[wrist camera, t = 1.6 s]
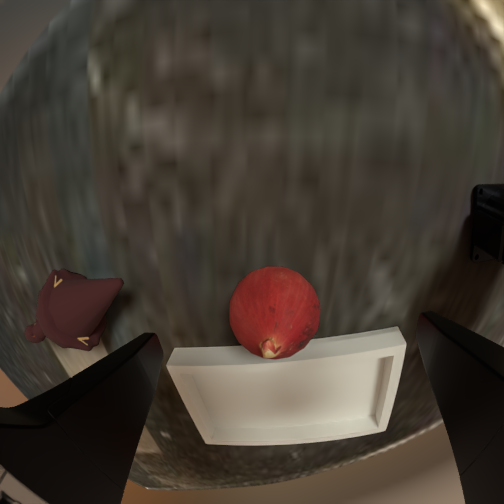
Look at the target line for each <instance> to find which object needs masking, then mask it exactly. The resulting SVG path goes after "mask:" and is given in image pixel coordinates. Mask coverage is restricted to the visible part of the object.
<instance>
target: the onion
mask: <svg viewBox="0 0 504 504" xmlns="http://www.w3.org/2000/svg"><path fill="white" fill-rule="evenodd" d="M319 318H320V302H319V300H318V297H317V295H316V293H315V290H314V288H313V287H312V286H311V284H310V283H309V282H308V281H307V280H306V279H305V278H304V277H302V276H301V275H300V274H299V273H298V272H295V271H293V270H290V269H288V268H285V267H264V268H261V269H258V270H255V271H252V272H250V273H249V274H248V275H247V276H246V277H244V278H243V279H242V280H241V281H240V282H239V283H238V285H237V287H236V289H235V291H234V293H233V295H232V297H231V300H230V303H229V323H230V326H231V329H232V330H233V332H234V334H235V336H236V338H237V340H238V342H239V343H240V344H241V345H242V346H243V347H245V348H246V349H247V350H248V351H249V352H250V353H252V354H254V355H257V356H259V357H261V358H265V359H274V360H276V359H282V358H288V357H291V356H292V355H294V354H296V353H297V352H299V351H300V350H302V349H304V348H305V347H306V346H307V344H308V343H309V341H310V340H311V339H312V337H313V336H314V334H315V333H316V331H317V329H318V327H319Z"/></svg>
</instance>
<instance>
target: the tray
mask: <svg viewBox="0 0 504 504" xmlns="http://www.w3.org/2000/svg"><path fill="white" fill-rule="evenodd" d="M405 350H406V342H405V340H404V338H403V336H402V334H401V332H400V330H399V328H398V326H397V327H391V328H386V329H380V330H374V331H368V332H362V333H356V334H349V335H342V336H335V337H327V338H319V339H311V340H310V341H309V343H308V344H307V346H306V347H305V348H304V349H302V350H300V351H299V352H297V353H296V354H294V355H292V356H291V357H288V358H282V359H276V360H274V359H265V358H261V357H259V356H257V355H254V354H252V353H250V352H249V351H248V350H247V349H246V348H245V347H243V346H224V347H193V348H174V350H173V352H172V354H171V356H170V358H169V360H168V362H167V364H166V366H167V369H168V371H169V373H170V375H171V377H172V379H173V382H174V384H175V386H176V388H177V390H178V392H179V394H180V396H181V398H182V400H183V402H184V404H185V406H186V408H187V410H188V412H189V414H190V416H191V418H192V419H193V421H194V423H195V425H196V427H197V429H198V430H199V432H200V434H201V436H202V438H203V439H204V441H205V443H206V444H217V445H284V444H300V443H311V442H321V441H329V440H337V439H344V438H350V437H356V436H362V435H368V434H373V433H378V432H382V431H386V428H387V425H388V421H389V418H390V414H391V411H392V407H393V403H394V400H395V396H396V392H397V388H398V384H399V379H400V375H401V370H402V365H403V360H404V355H405Z"/></svg>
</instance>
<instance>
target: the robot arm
mask: <svg viewBox="0 0 504 504" xmlns="http://www.w3.org/2000/svg"><path fill="white" fill-rule="evenodd" d="M479 190H481V191H480V193H479ZM475 255H476V257H475ZM470 259H471V260H472V261H473V262H475V263H476V262H481V261H486V260H491V259H496V260H497V261H498V262H501V263H502V264H504V184H478V185H476V186H475V188H474V215H473V232H472V244H471V253H470ZM416 340H417V343H418V346H419V350H420V353H421V356H422V360H423V364H424V367H425V371H426V374H427V377H428V380H429V382H430V385H431V387H432V390H433V393H434V395H435V398H436V401H437V404H438V406H439V409H440V412H441V415H442V418H443V421H444V424H445V427H446V430H447V433H448V436H449V440H450V443H451V446H452V450H453V453H454V457H455V461H456V464H457V467H458V472H459V475H460V481H461V485H462V490H463V494H464V499H465V504H504V347H502V346H500V345H498V344H496V343H494V342H493V341H491V340H489V339H487V338H485V337H483V336H481V335H479V334H477V333H475V332H473V331H471V330H469V329H467V328H465V327H463V326H461V325H459V324H457V323H455V322H453V321H451V320H449V319H447V318H445V317H443V316H441V315H439V314H437V313H435V312H433V311H427V312H422V313H421V314H420V316H419V320H418V325H417V330H416ZM162 361H163V350H162V347H161V344H160V342H159V339H158V336H157V335H156V334H155V333H143V334H142V335H140V336H138V337H137V338H135V339H133V340H132V341H130V342H129V343H127V344H125V345H124V346H122V347H120V348H119V349H117V350H116V351H114V352H112V353H111V354H109V355H107V356H106V357H104V358H102V359H101V360H99V361H97V362H96V363H94V364H93V365H91V366H89V367H88V368H86V369H84V370H83V371H81V372H79V373H78V374H76V375H74V376H73V377H72V378H69V379H68V380H66V381H64V382H63V383H61V384H59V385H57V386H56V387H54V388H52V389H50V390H48V391H46V392H44V393H42V394H40V395H38V396H36V397H34V398H32V399H30V400H28V401H26V402H24V403H22V404H20V405H17V406H15V407H10V408H3V407H0V504H121V500H122V497H123V493H124V489H125V486H126V482H127V479H128V476H129V472H130V469H131V466H132V462H133V459H134V456H135V453H136V449H137V446H138V443H139V440H140V437H141V434H142V431H143V428H144V425H145V421H146V418H147V415H148V412H149V409H150V406H151V404H152V401H153V398H154V395H155V391H156V387H157V383H158V378H159V374H160V369H161V365H162Z"/></svg>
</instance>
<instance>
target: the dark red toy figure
mask: <svg viewBox="0 0 504 504" xmlns="http://www.w3.org/2000/svg"><path fill="white" fill-rule="evenodd" d="M123 284H124V282H123V280H122V279H121V278H108V279H87V278H86V277H85V276H83V275H81V274H78V273H73V272H70V271H68V270H66V269H61V270H59V271H57V270H53V271H52V272H51V274H50V275H49V277H48V279H47V281H46V283H45V285H44V286H43V288H42V290H41V291H39V295H38V304H37V311H36V317H37V319H36V323H34V324H32V325H29V326H27V328H26V329H25V333H24V334H25V336H26V339H28V340H29V341H30V342H32V343H38V342H41V341H43V340H44V339H45V337H47V338H49V339H50V340H52V341H53V342H55V343H56V344H58V345H59V346H61V347H62V348H75V349H81V350H86V351H90V350H91V349H92V348H93V347H94V346H97V345H98V344H99V341H100V337H101V335H102V333H103V331H104V329H105V327H106V317H105V313H106V311H107V310H108V308H109V306H110V305H111V303H112V302H113V300H114V298H115V297H116V295H117V294H118V292H119V291H120V289H121V288H122V286H123Z"/></svg>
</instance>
